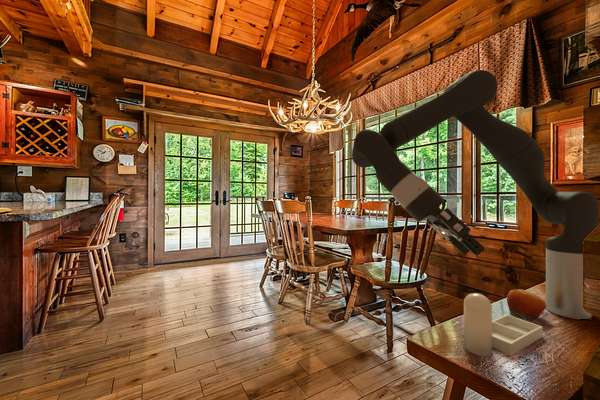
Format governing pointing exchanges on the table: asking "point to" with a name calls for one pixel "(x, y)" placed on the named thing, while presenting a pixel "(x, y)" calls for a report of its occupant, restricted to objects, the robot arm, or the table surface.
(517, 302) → the fruit
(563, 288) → the robot arm
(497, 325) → the tray
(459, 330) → the table surface
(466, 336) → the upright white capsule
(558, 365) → the table surface
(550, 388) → the table surface
